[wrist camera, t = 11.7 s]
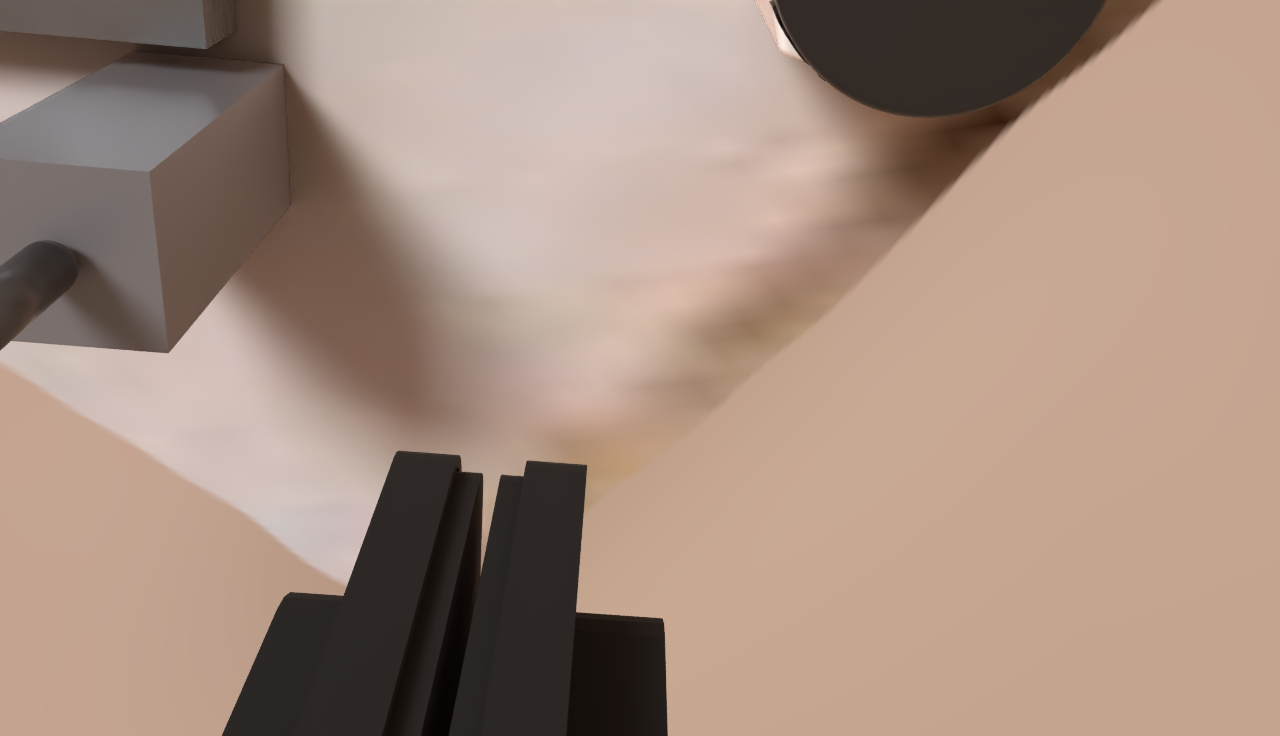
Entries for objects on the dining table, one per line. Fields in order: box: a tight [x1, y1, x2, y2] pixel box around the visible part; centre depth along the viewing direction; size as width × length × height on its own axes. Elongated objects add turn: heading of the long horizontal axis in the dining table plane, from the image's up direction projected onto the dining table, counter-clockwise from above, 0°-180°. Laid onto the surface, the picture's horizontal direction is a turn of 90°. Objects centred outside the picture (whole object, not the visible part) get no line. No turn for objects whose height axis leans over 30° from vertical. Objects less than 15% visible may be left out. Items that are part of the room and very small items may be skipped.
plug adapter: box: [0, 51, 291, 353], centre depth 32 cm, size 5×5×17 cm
